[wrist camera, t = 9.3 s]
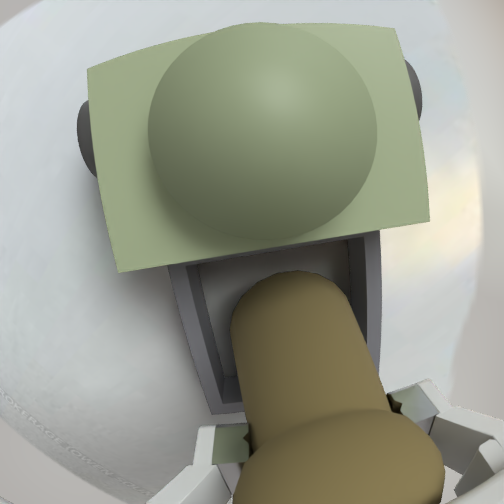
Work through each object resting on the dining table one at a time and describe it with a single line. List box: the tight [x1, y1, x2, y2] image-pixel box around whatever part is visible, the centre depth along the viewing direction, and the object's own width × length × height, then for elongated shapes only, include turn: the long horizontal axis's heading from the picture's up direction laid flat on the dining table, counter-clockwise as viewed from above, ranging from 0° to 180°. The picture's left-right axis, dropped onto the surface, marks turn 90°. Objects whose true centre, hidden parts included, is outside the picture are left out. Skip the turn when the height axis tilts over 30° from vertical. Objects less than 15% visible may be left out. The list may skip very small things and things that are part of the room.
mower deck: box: [77, 22, 430, 415], centre depth 12 cm, size 14×18×6 cm
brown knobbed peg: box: [230, 271, 445, 504], centre depth 9 cm, size 6×6×11 cm
